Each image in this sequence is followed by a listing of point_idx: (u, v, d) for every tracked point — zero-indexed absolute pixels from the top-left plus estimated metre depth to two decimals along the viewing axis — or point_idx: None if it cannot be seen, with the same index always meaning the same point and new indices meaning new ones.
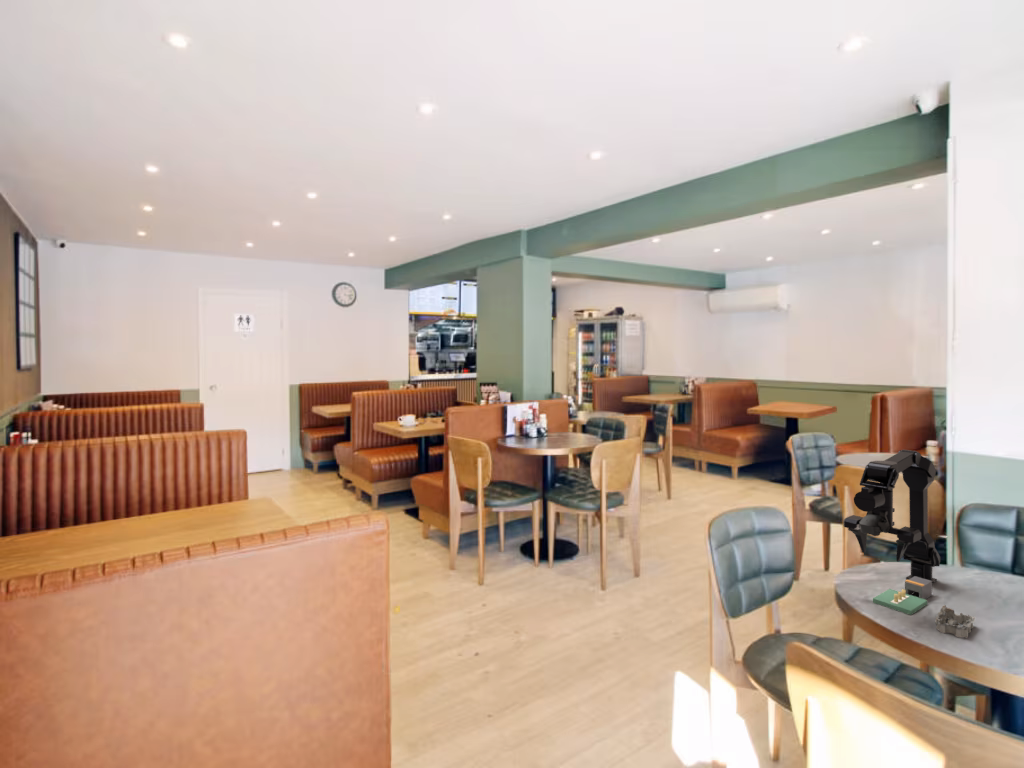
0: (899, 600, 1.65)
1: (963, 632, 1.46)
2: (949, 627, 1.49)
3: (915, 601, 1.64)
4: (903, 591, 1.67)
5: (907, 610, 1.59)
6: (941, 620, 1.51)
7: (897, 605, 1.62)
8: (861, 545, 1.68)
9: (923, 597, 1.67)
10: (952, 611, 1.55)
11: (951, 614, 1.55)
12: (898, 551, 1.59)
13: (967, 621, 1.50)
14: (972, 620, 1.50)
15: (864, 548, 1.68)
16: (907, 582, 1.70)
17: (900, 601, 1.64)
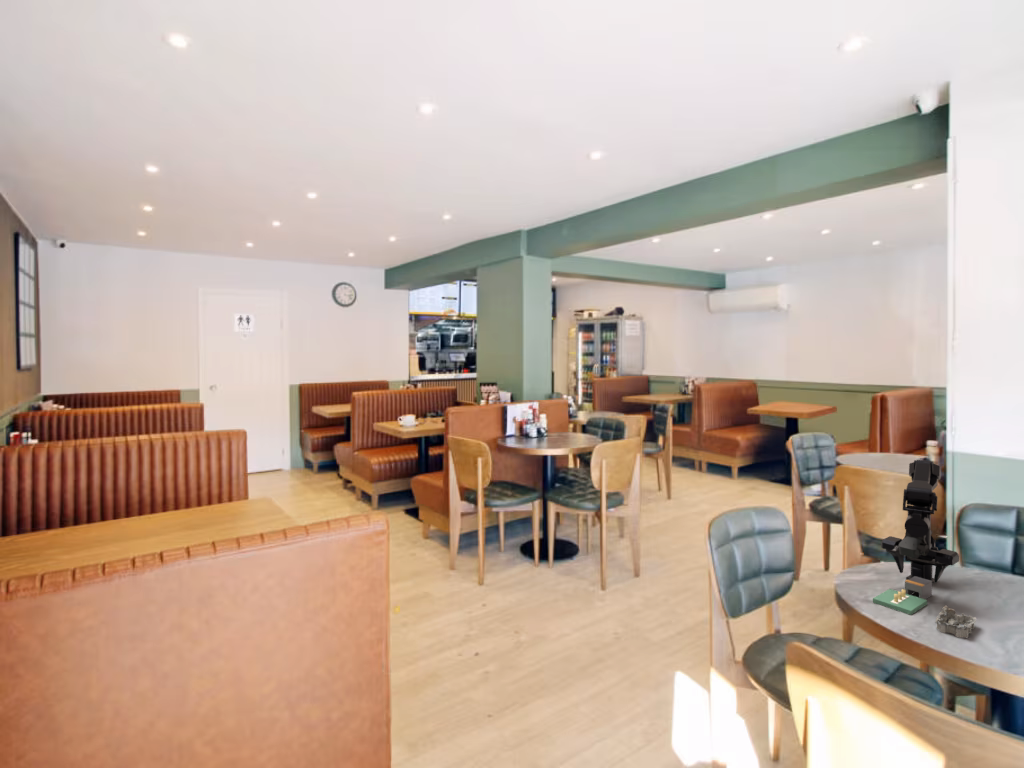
0: (899, 600, 1.65)
1: (963, 632, 1.46)
2: (950, 627, 1.49)
3: (915, 601, 1.64)
4: (903, 591, 1.67)
5: (907, 610, 1.59)
6: (942, 620, 1.51)
7: (897, 605, 1.62)
8: (898, 565, 1.74)
9: (923, 597, 1.67)
10: (954, 611, 1.55)
11: (953, 614, 1.55)
12: (936, 573, 1.65)
13: (968, 621, 1.49)
14: (973, 621, 1.49)
15: (901, 568, 1.74)
16: (907, 582, 1.70)
17: (900, 601, 1.64)
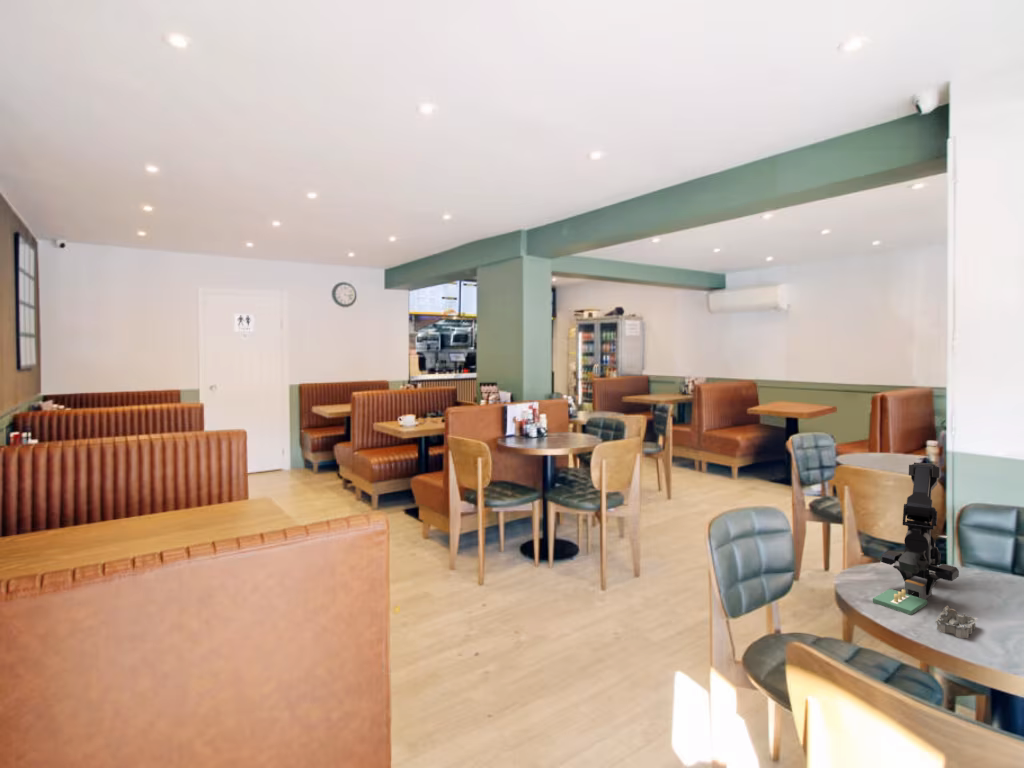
0: (899, 600, 1.65)
1: (963, 632, 1.46)
2: (950, 627, 1.49)
3: (915, 601, 1.64)
4: (903, 591, 1.67)
5: (907, 610, 1.59)
6: (942, 620, 1.51)
7: (897, 605, 1.62)
8: None
9: (923, 597, 1.67)
10: (955, 612, 1.55)
11: (954, 615, 1.55)
12: (928, 585, 1.67)
13: (969, 622, 1.49)
14: (974, 621, 1.49)
15: None
16: (907, 582, 1.70)
17: (900, 601, 1.64)
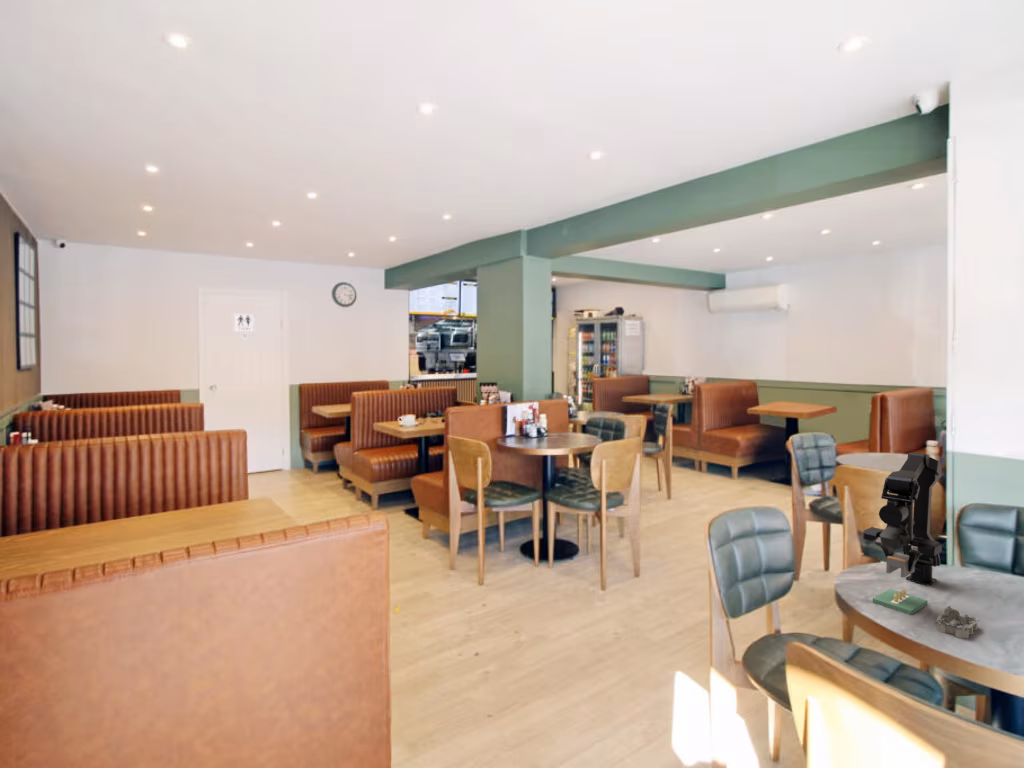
0: (899, 600, 1.65)
1: (963, 632, 1.46)
2: (950, 627, 1.48)
3: (915, 601, 1.64)
4: (903, 591, 1.67)
5: (907, 610, 1.59)
6: (943, 620, 1.51)
7: (897, 605, 1.62)
8: None
9: (905, 573, 1.62)
10: (957, 612, 1.54)
11: (956, 615, 1.55)
12: (910, 561, 1.62)
13: (970, 622, 1.49)
14: (975, 622, 1.49)
15: None
16: (889, 558, 1.65)
17: (900, 601, 1.64)
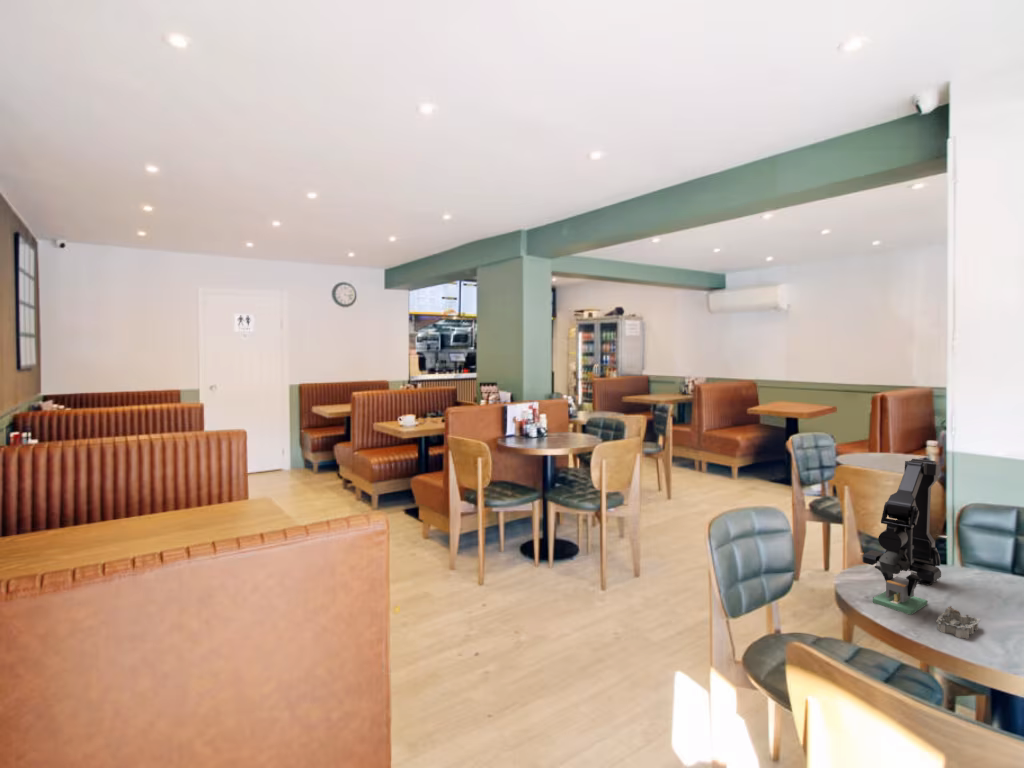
0: (899, 600, 1.65)
1: (963, 633, 1.46)
2: (950, 627, 1.48)
3: (915, 601, 1.64)
4: None
5: (907, 610, 1.59)
6: (943, 620, 1.51)
7: (897, 605, 1.62)
8: None
9: (905, 598, 1.62)
10: (958, 612, 1.54)
11: (957, 615, 1.54)
12: (909, 586, 1.62)
13: (970, 622, 1.49)
14: (976, 622, 1.49)
15: None
16: (888, 582, 1.65)
17: (900, 601, 1.64)
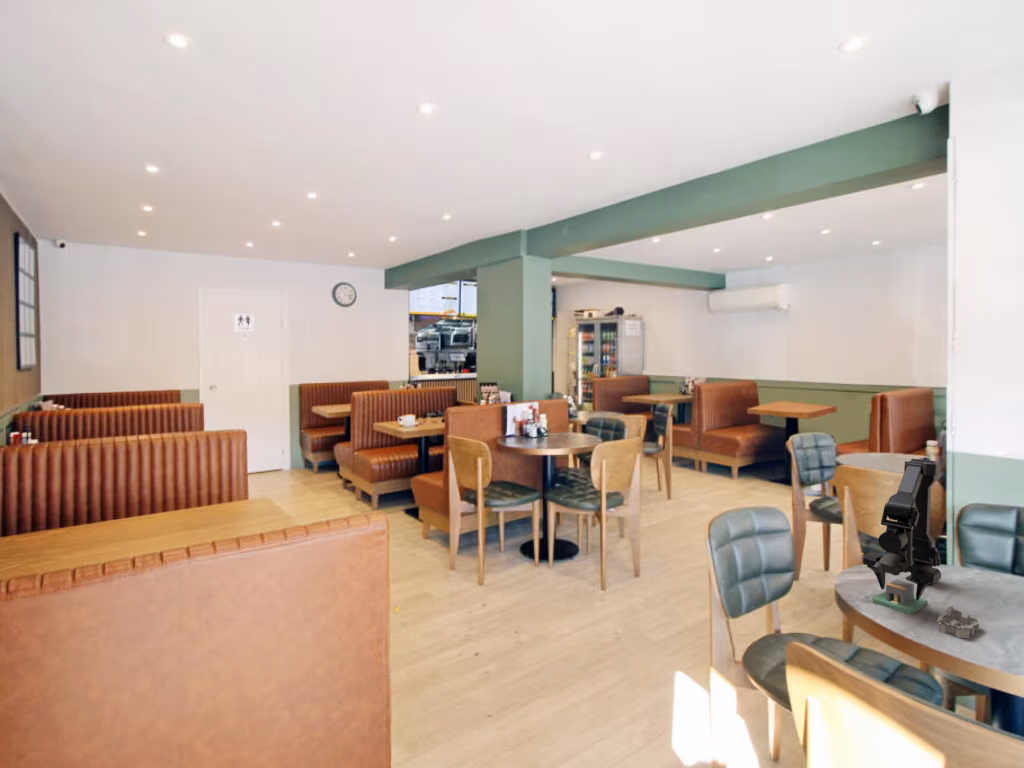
0: (899, 600, 1.65)
1: (963, 633, 1.46)
2: (950, 627, 1.48)
3: (915, 601, 1.64)
4: None
5: (907, 610, 1.59)
6: (943, 620, 1.51)
7: (897, 605, 1.62)
8: (880, 582, 1.69)
9: (904, 601, 1.62)
10: (959, 613, 1.54)
11: (958, 616, 1.54)
12: (918, 590, 1.61)
13: (971, 623, 1.49)
14: (977, 622, 1.48)
15: (883, 585, 1.69)
16: (888, 585, 1.65)
17: None
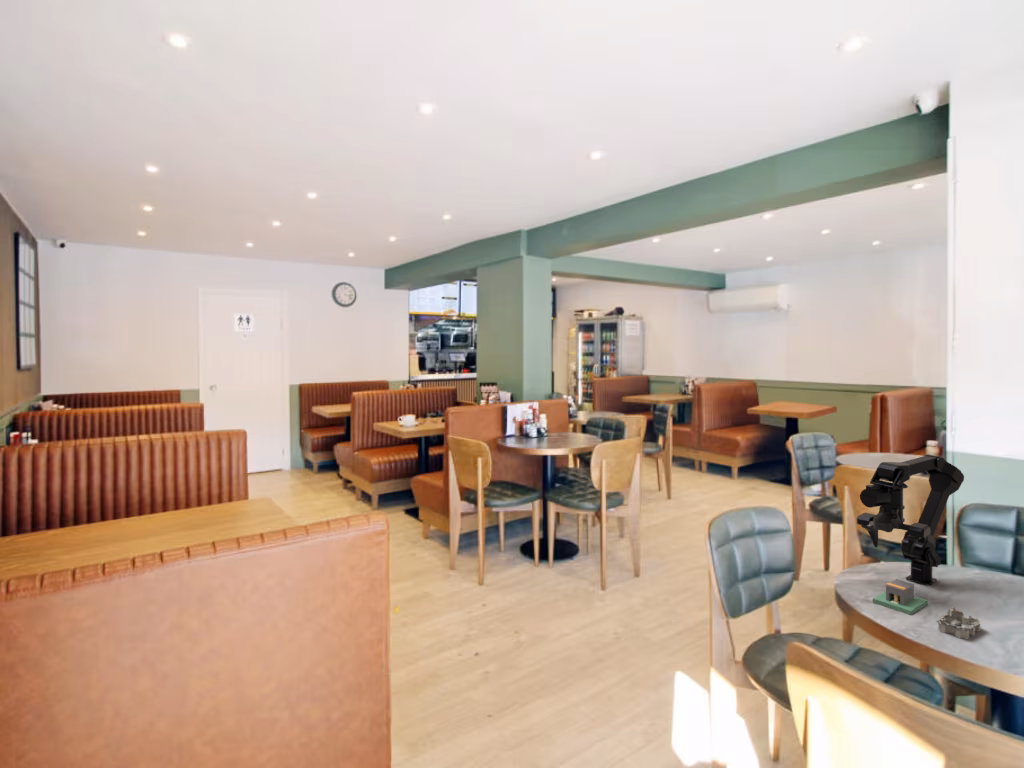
0: (899, 600, 1.65)
1: (963, 633, 1.46)
2: (950, 628, 1.48)
3: (915, 601, 1.64)
4: None
5: (907, 610, 1.59)
6: (944, 620, 1.51)
7: (897, 605, 1.62)
8: (873, 540, 1.79)
9: (904, 601, 1.62)
10: (961, 613, 1.54)
11: (960, 616, 1.54)
12: (909, 546, 1.71)
13: (972, 623, 1.48)
14: (978, 623, 1.48)
15: (876, 543, 1.79)
16: (888, 585, 1.65)
17: None
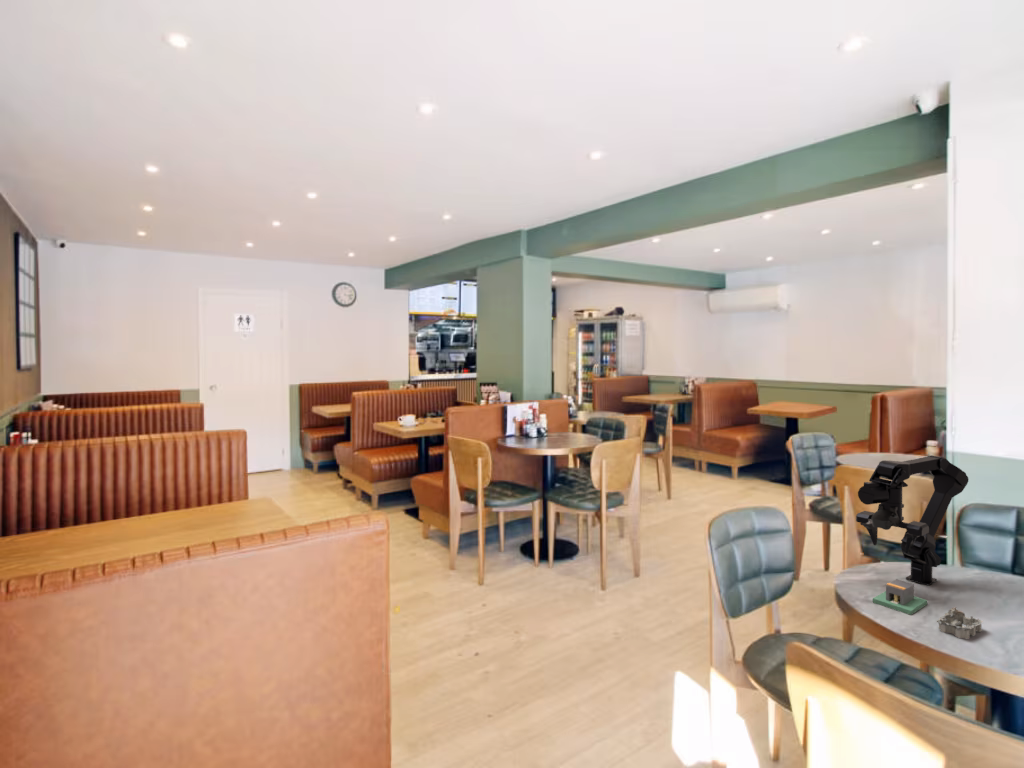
0: (899, 600, 1.65)
1: (963, 633, 1.46)
2: (951, 627, 1.48)
3: (915, 601, 1.64)
4: None
5: (907, 610, 1.59)
6: (945, 620, 1.51)
7: (897, 605, 1.62)
8: (872, 538, 1.81)
9: (904, 601, 1.62)
10: (963, 614, 1.53)
11: (962, 617, 1.54)
12: (907, 544, 1.72)
13: (973, 624, 1.48)
14: (979, 623, 1.48)
15: (875, 541, 1.81)
16: (888, 585, 1.65)
17: None
